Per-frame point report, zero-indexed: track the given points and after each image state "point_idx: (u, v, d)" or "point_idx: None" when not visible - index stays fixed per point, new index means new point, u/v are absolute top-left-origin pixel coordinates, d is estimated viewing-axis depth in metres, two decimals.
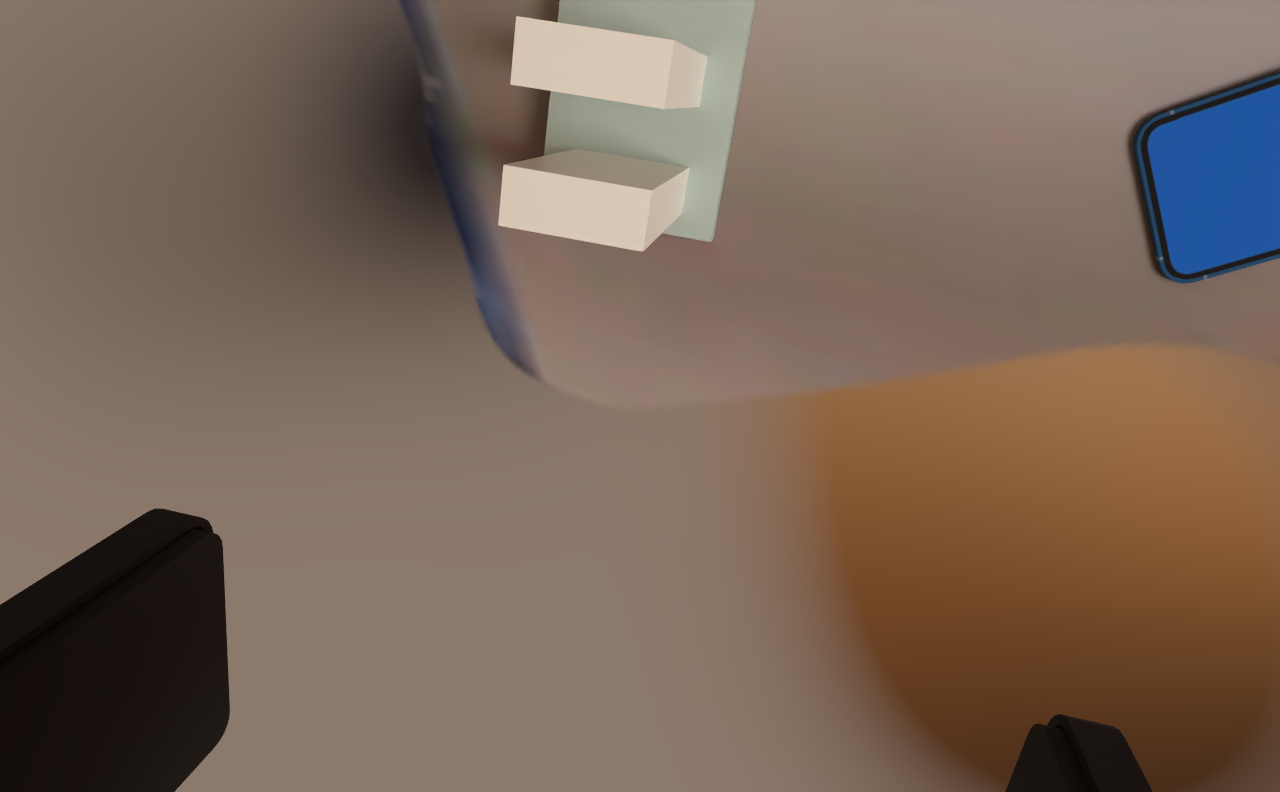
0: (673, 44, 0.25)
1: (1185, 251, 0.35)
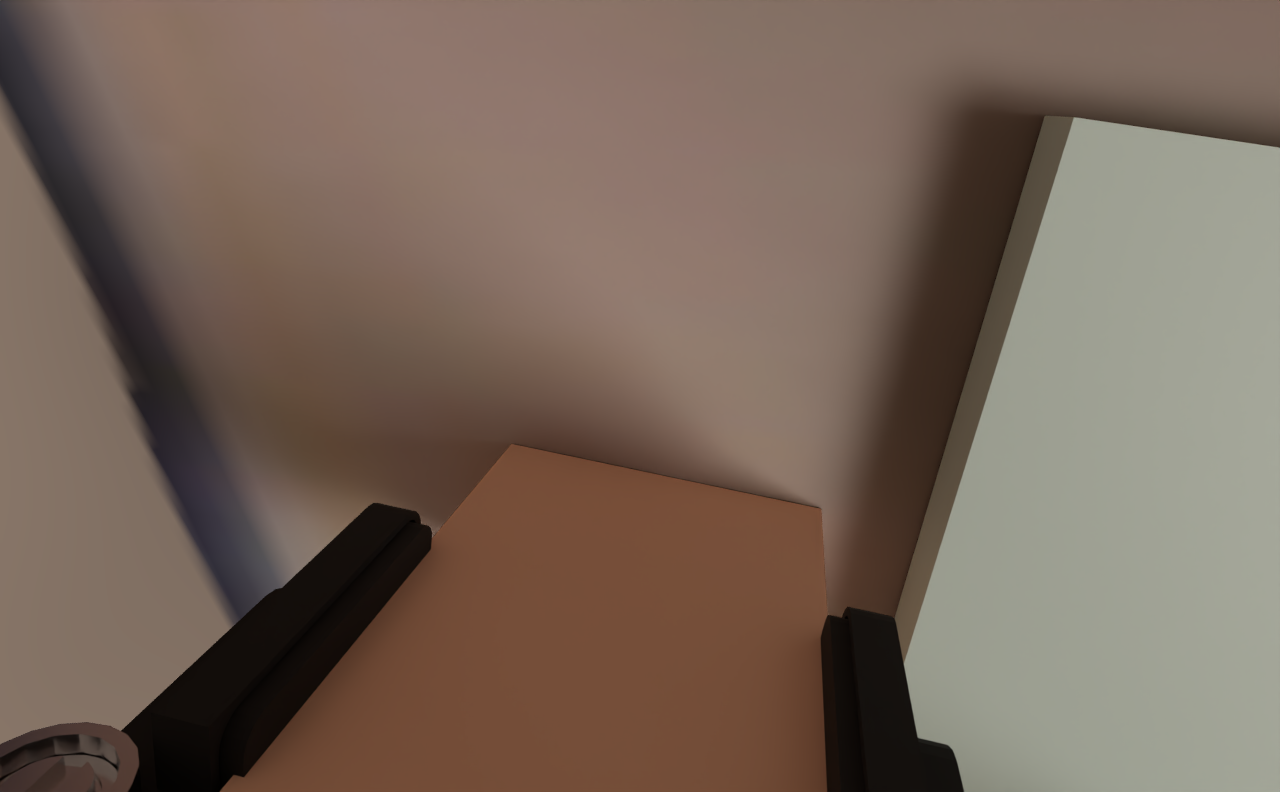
0: None
1: None
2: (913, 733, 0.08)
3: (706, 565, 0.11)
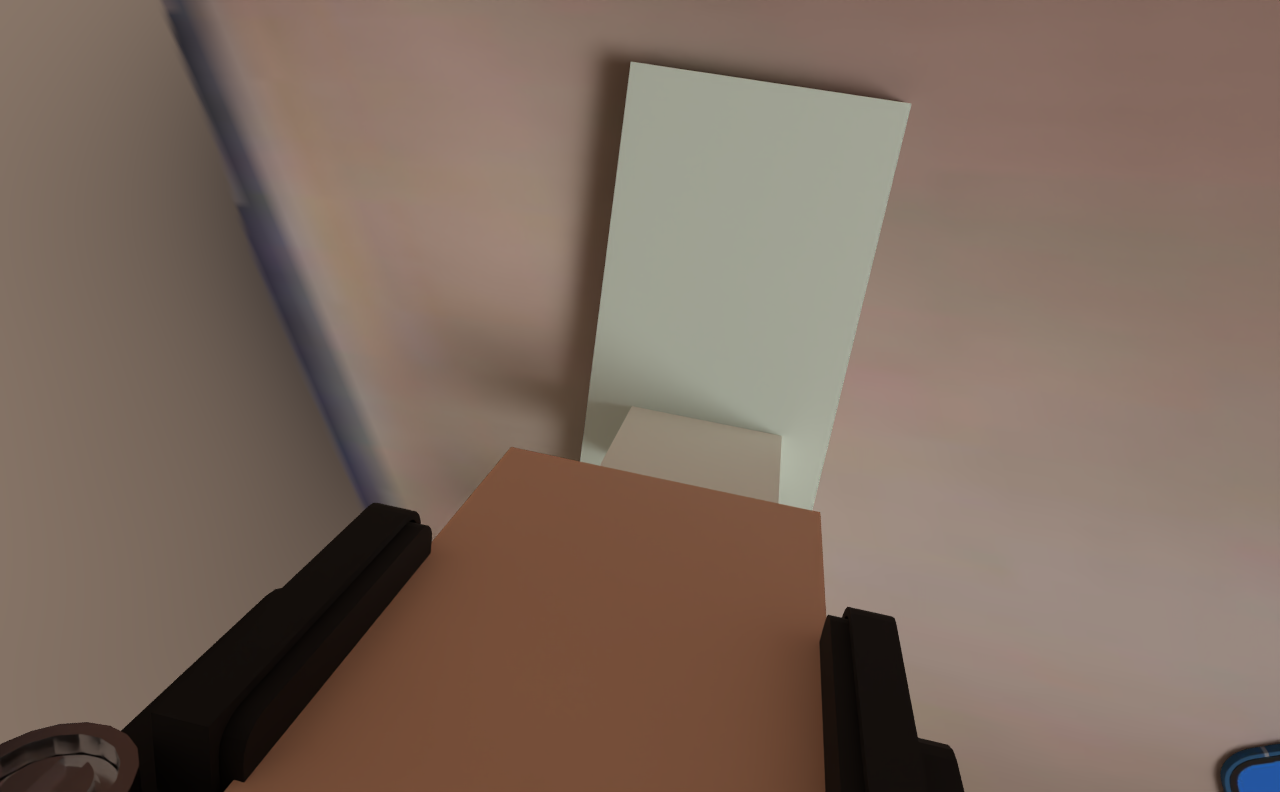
0: None
1: None
2: (913, 733, 0.08)
3: (706, 568, 0.11)
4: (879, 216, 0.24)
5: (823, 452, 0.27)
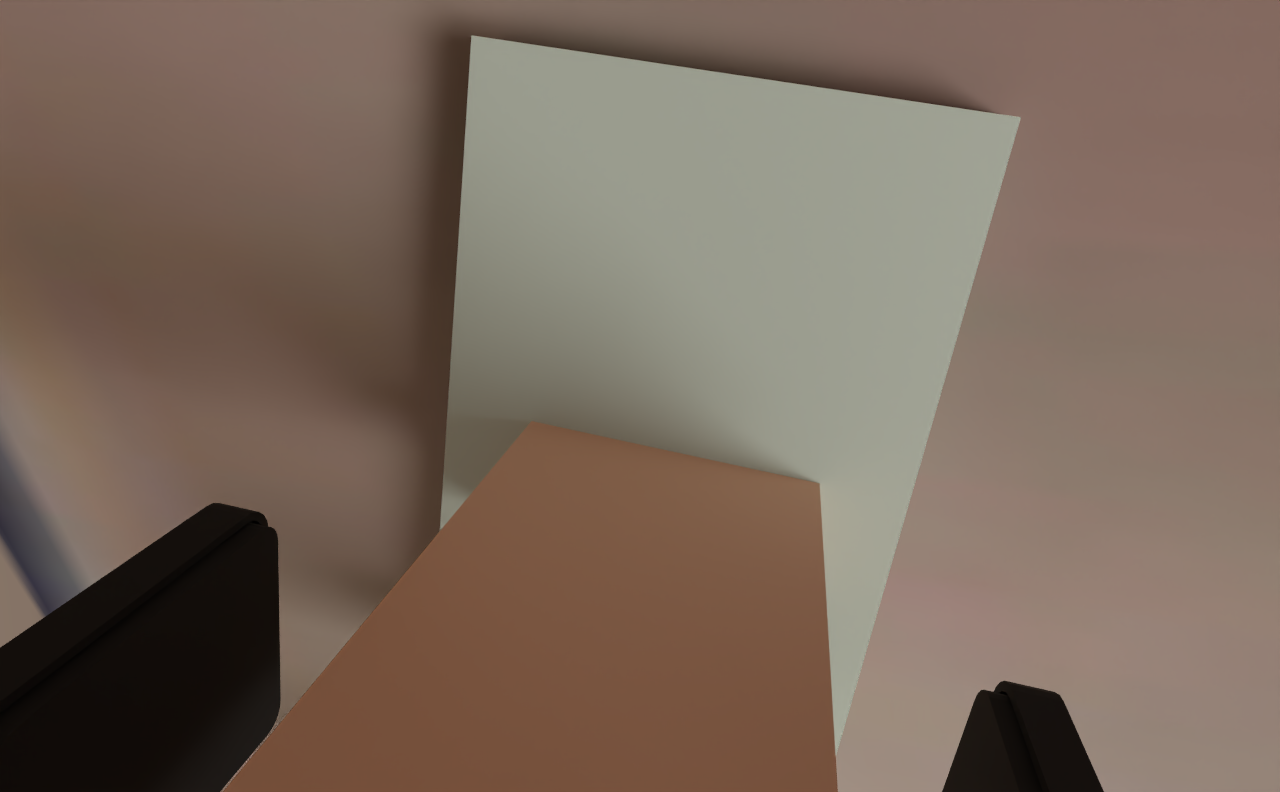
0: None
1: None
2: None
3: (715, 529, 0.12)
4: (949, 332, 0.13)
5: (839, 726, 0.15)
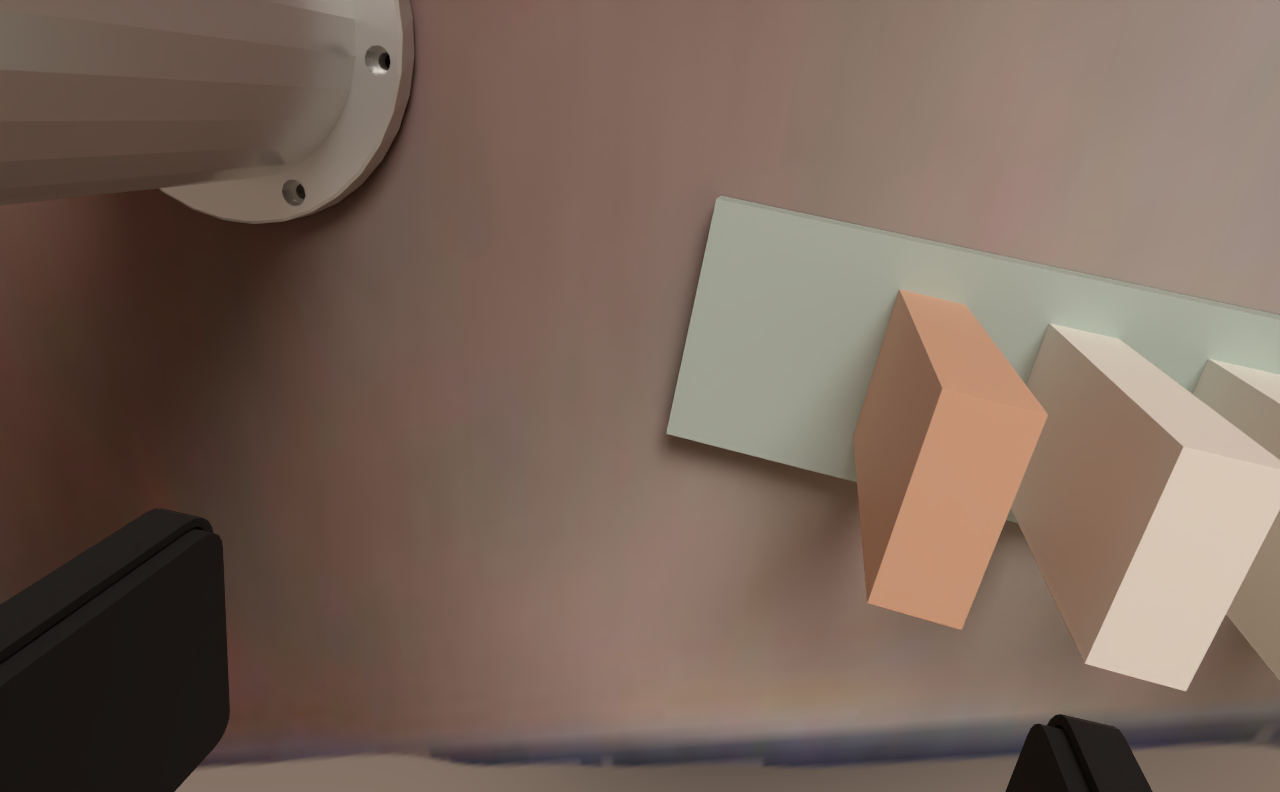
0: None
1: None
2: None
3: (889, 357, 0.24)
4: (816, 224, 0.25)
5: (1076, 279, 0.24)
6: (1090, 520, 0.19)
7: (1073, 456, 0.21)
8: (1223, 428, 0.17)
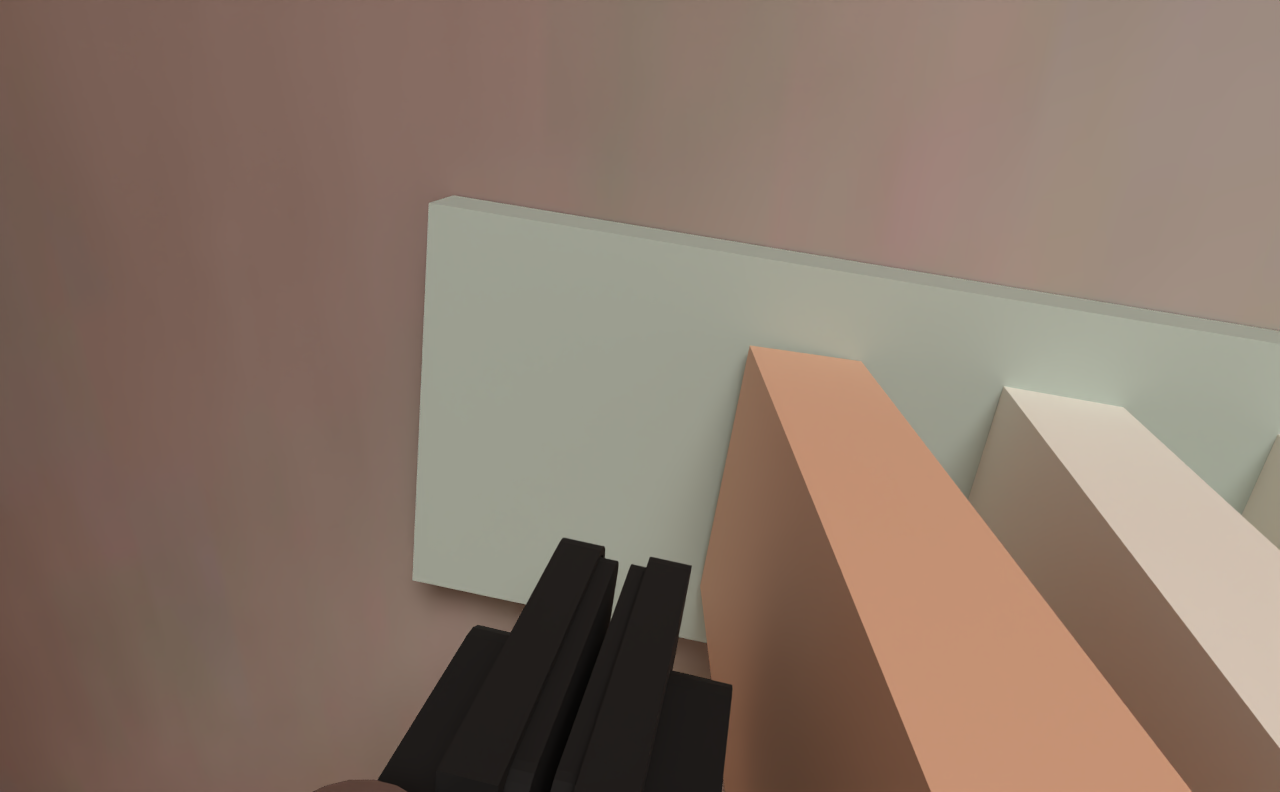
0: None
1: None
2: (669, 666, 0.08)
3: (748, 485, 0.13)
4: (599, 238, 0.15)
5: (1045, 309, 0.14)
6: None
7: None
8: None
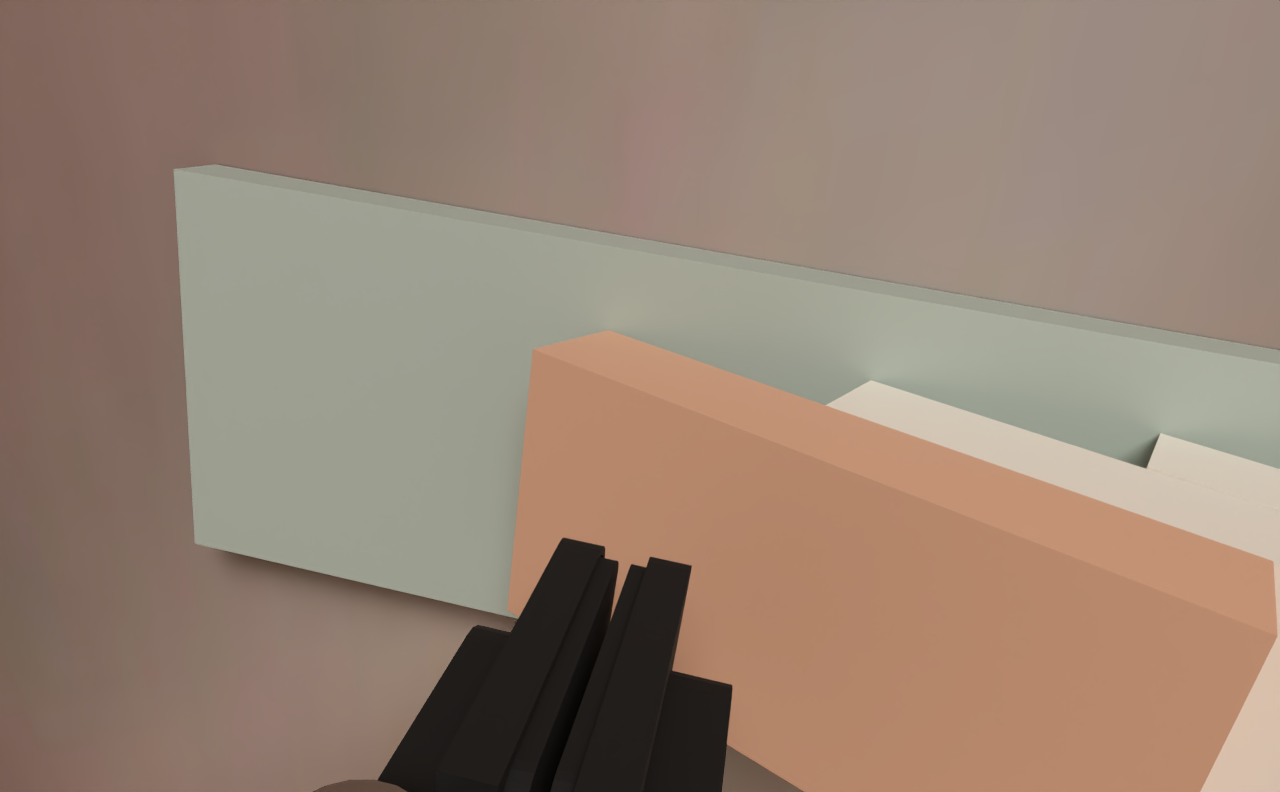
0: None
1: None
2: (668, 666, 0.08)
3: (637, 489, 0.13)
4: (332, 204, 0.15)
5: (753, 275, 0.14)
6: None
7: None
8: None
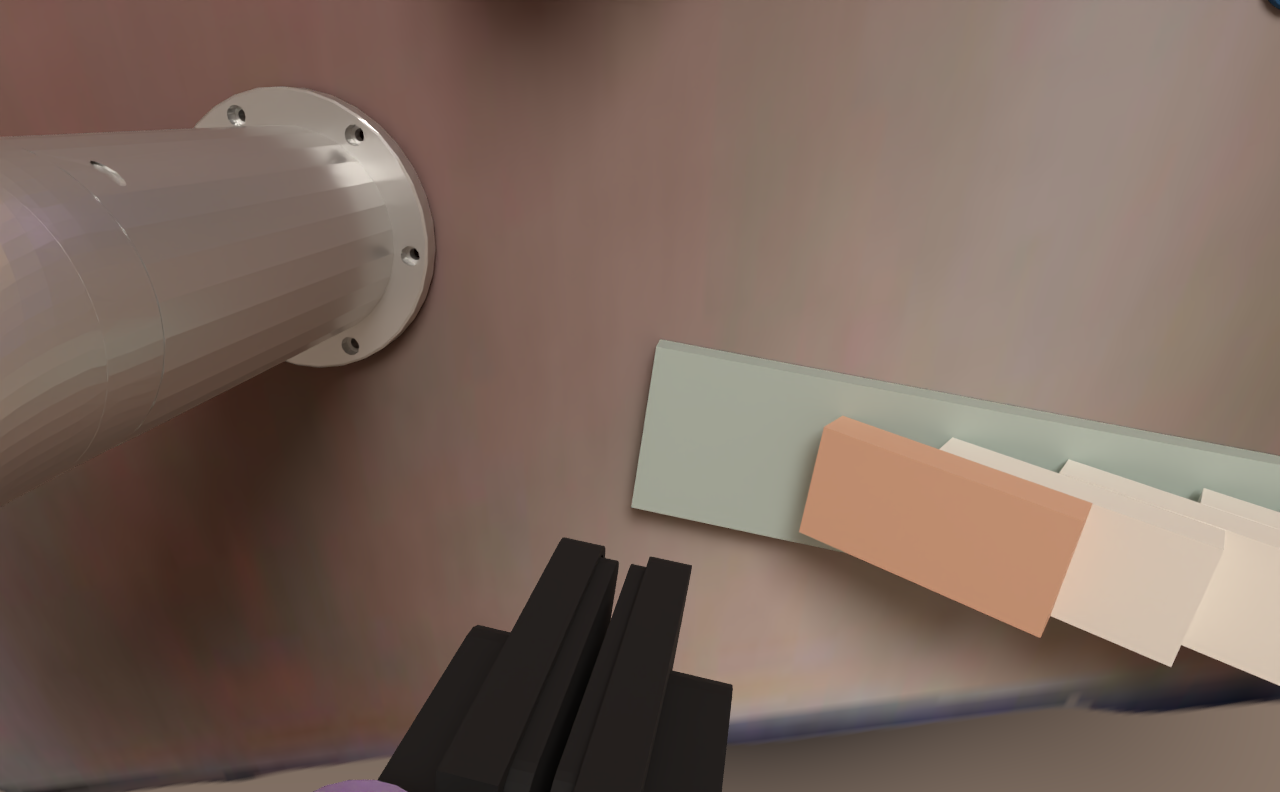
0: None
1: None
2: (669, 665, 0.08)
3: (868, 481, 0.34)
4: (726, 362, 0.36)
5: (905, 395, 0.35)
6: (1121, 589, 0.31)
7: None
8: (1159, 511, 0.31)
